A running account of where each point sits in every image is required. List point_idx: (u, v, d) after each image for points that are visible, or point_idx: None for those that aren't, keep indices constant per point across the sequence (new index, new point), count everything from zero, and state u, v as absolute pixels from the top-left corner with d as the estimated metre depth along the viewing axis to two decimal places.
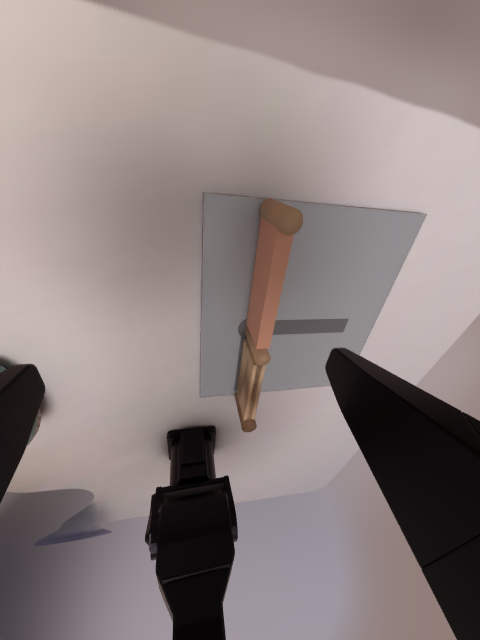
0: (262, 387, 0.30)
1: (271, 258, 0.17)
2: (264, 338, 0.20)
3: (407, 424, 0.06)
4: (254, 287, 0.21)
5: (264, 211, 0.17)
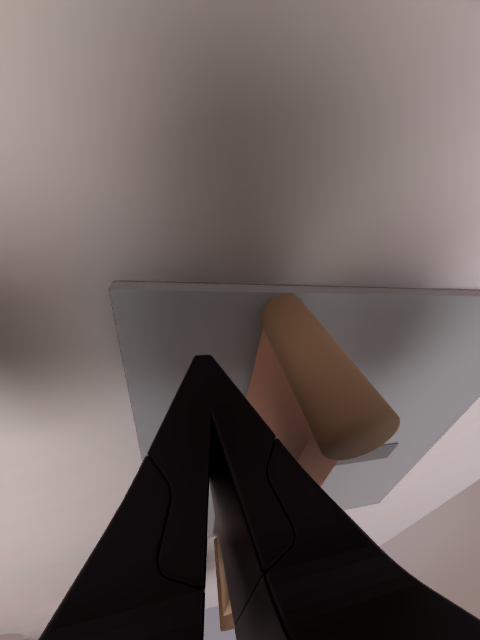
0: None
1: None
2: None
3: (216, 451, 0.05)
4: None
5: (272, 336, 0.07)
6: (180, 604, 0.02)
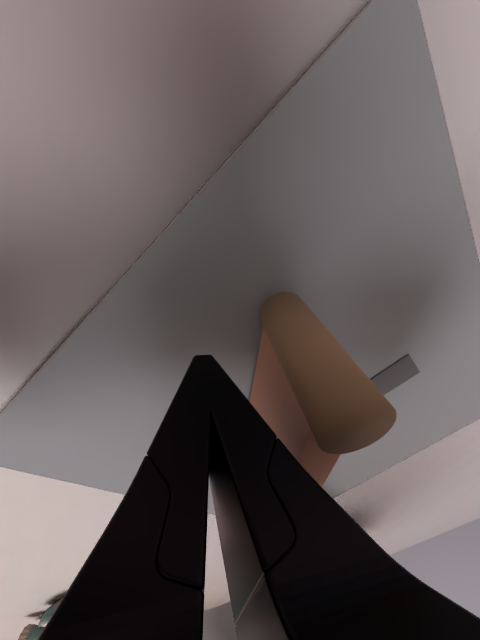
0: (348, 484, 0.18)
1: None
2: None
3: (217, 451, 0.05)
4: None
5: (271, 333, 0.07)
6: (179, 605, 0.02)
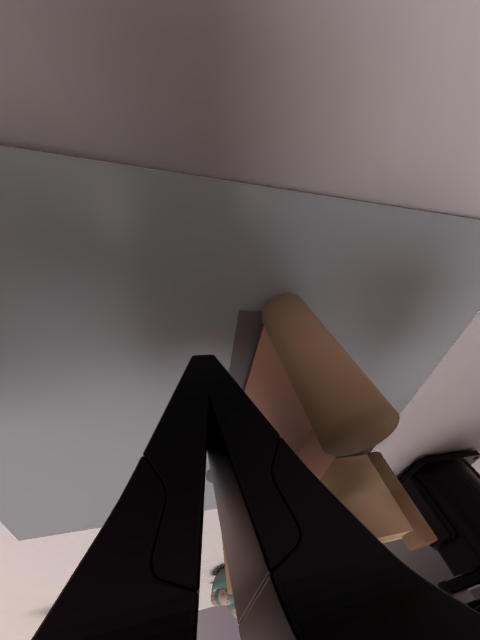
0: None
1: None
2: None
3: (221, 450, 0.05)
4: None
5: (274, 333, 0.07)
6: (172, 606, 0.02)
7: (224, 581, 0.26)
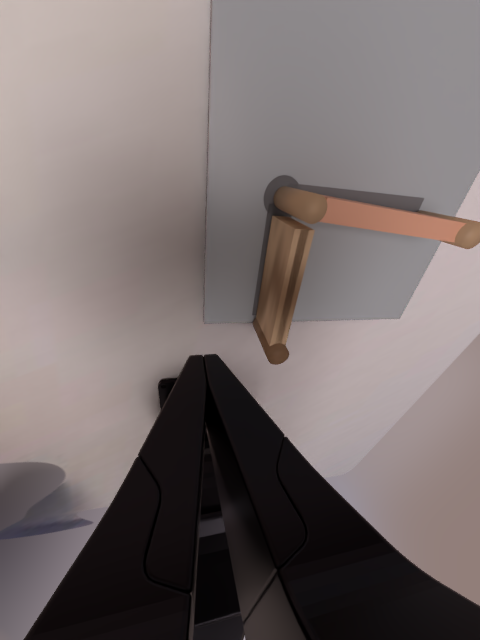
0: None
1: (439, 218, 0.15)
2: (341, 212, 0.13)
3: (225, 450, 0.05)
4: (361, 202, 0.16)
5: None
6: (164, 607, 0.02)
7: None
